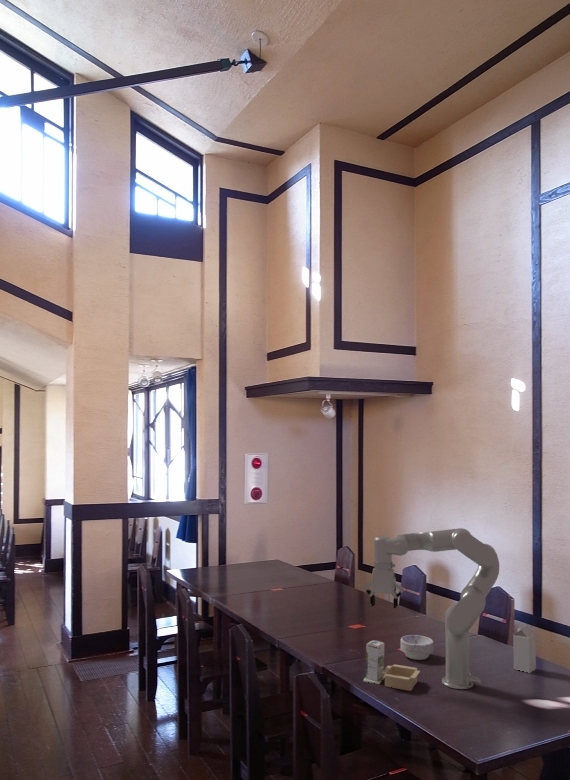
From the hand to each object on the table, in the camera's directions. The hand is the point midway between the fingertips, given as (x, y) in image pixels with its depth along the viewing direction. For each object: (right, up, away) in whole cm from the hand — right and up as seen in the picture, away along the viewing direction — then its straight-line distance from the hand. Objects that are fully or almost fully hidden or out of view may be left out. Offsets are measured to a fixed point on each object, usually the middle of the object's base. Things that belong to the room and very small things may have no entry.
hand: (384, 606), depth 272 cm
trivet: (-5, -29, -5) cm, 30 cm away
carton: (+5, -29, -10) cm, 31 cm away
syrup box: (-5, -29, -5) cm, 29 cm away
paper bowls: (+19, -32, +24) cm, 44 cm away
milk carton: (+64, -31, +9) cm, 72 cm away
